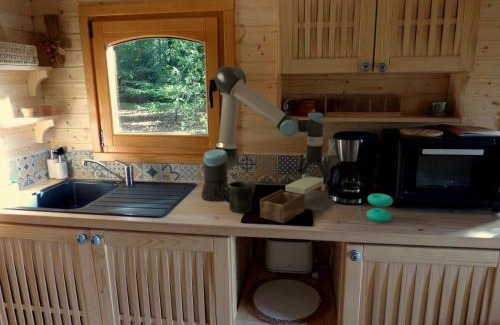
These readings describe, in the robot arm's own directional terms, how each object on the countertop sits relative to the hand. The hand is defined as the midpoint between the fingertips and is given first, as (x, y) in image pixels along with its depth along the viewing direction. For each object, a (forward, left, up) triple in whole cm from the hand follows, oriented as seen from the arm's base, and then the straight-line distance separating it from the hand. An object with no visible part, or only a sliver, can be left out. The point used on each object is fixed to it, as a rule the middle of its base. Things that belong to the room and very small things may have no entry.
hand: (313, 188), depth 179 cm
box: (0, -29, -5) cm, 30 cm away
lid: (0, -8, +2) cm, 8 cm away
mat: (+4, -5, -5) cm, 8 cm away
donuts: (+36, -10, -5) cm, 38 cm away
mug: (-20, -36, -5) cm, 42 cm away
